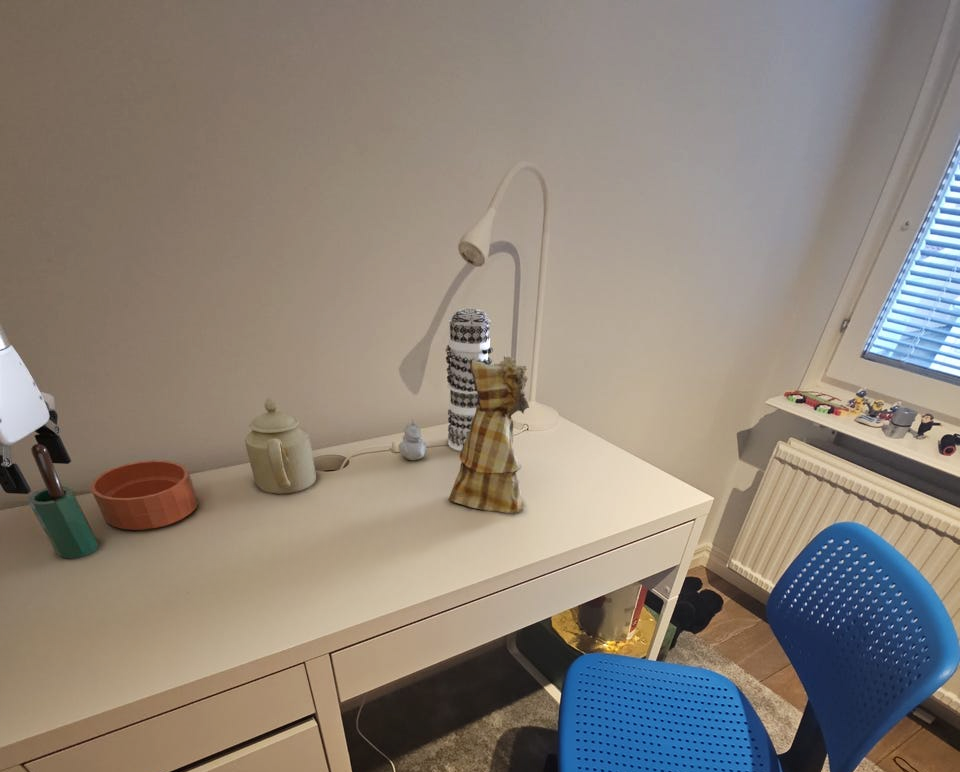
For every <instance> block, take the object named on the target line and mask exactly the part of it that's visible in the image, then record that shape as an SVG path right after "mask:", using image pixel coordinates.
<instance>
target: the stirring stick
mask: <svg viewBox="0 0 960 772" xmlns="http://www.w3.org/2000/svg"><path fill="white" fill-rule="evenodd" d="M30 451H31V454H32V456H33V459H34V461H35V464H36V466H37V469H38V471H39V473H40V477H41V478H42V481H43V484H44V485H45V488H47V490H48V493H49V495H50V498H51V500H52V501H53V500H56V499H59V498H62V497H63V496H64V495H65V493H64V490H63V488H62V487H63V486H62V483H61V480H60V477H59V476H58V473H57V470H56V468H55V465H54V463H52V460H51V458H50V455H49V453H48V450H47V448H46V447H45V446H43V445H41V444H38V443H35V444H33V445H32V446H31V449H30Z"/></svg>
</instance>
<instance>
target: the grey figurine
mask: <svg viewBox="0 0 960 772" xmlns="http://www.w3.org/2000/svg"><path fill="white" fill-rule="evenodd" d="M398 451H399V453H400V454H401V455H402V456H403V457H404V458H406V459H407V460H410V461H418V460H420V459H422V458H424V456H425V453H426V451H427V444H426V441H425V440H424V439H423V438H422V436H421V429H420V427H419V426H418V424H417V422H415V421H414V419H412V420H411V423H410V424H409V423H407V425H406V426H405V428H404V434H403V435H402V441H400V442H399V443H398Z"/></svg>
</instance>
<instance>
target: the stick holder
mask: <svg viewBox="0 0 960 772" xmlns="http://www.w3.org/2000/svg"><path fill="white" fill-rule="evenodd" d="M62 488H63V490H64V493H65V495H64V496H63V497H62V498H59V499H56V500H53V501H52V500H51V498H50V495H49V493H48V490H47V488H46V487H45V488H42V489H39V490H36V491H35V492H33V493H31V494H30V495H28V497H27V503H28V504H29V506H30V508H31V510H32V512H33V514H34V516H35V517H36V519H37V521H38V523H39V525H40V526H41V528H42V530H43V531H44V533H45V535H46V537H47V538H48V540H49V542H50V544H51V546H52V547H53V549H54V551H55V553H56V554H57V556H59V557H60V558H62V559H67V560H73V559H74V560H75V559H79V558H84V557H86V556H89V555H91V554H92V553H94V552H95V551H96V550H97V549H98V548H99V542H98V539H97V537H96V535H95V533H94V531H93V529H92V527H91V525H90V523H89V521H88V519H87V517H86V515H85V513H84V511H83V509H82V506H81V504H80V502H79V500H78V498H77V497H76V495H75V492H74V489H72V488H70V487H67V486H62Z"/></svg>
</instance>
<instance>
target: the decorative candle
mask: <svg viewBox="0 0 960 772" xmlns="http://www.w3.org/2000/svg"><path fill="white" fill-rule="evenodd" d="M448 322H449V337H448V344H447V345H446V348H445V352H446V355H447V356H446V357H445V361H446V363H447V364H448V365H447V368H446V372H447V376H446V379H447V388H448V389H449V390H450V393H449V398H450V399H449V402H448V403H449V405H448V407H449V408H448V410H447V415H448V418H447V422H448V423H449V424H448V425H447V432H448V433H447V438H448V446H449V447H450V448H451V449H453V450H455V451H459V452H460V451H461V450H462V449H463V446H464V444H465V441H466V438H467V436H468V434H469V432H470V428H471V422H472V420H473V417H474V415H475V413H476V408H477V406H478V405H477V400H478V393H477V390H476V389H475V385H474V380H473V375H472V371H471V367H470V365H471V362H472V360H477V361H478V362H482V363H484V364H488V365H492V363H493V360H492V358H490V357H489V355H491V354H492V353H493V352H494V348H492V347H491V345H490V344H491V338H490V325H491V324H492V320H490V319H489V317H488V315H487V313H486V312H485V311H483V310H481V309H475V308H462V309H458V310H456V311H454V314H453V315H452V317H451V318H449V319H448Z"/></svg>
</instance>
